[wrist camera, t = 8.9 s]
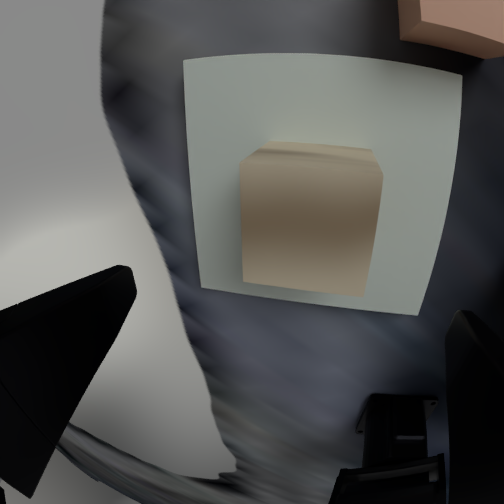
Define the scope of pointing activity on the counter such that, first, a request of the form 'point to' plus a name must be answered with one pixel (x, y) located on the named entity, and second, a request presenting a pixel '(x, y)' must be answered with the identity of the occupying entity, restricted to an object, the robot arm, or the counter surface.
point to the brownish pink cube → (455, 25)
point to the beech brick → (309, 216)
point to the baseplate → (330, 133)
